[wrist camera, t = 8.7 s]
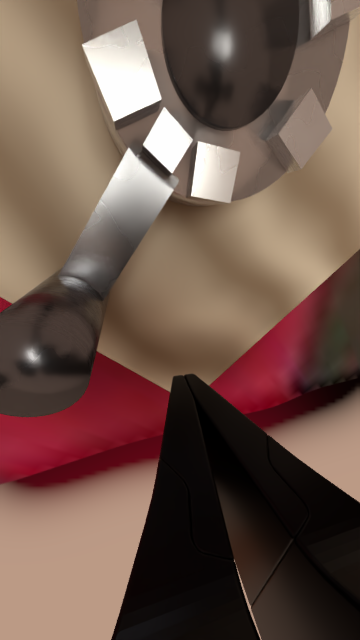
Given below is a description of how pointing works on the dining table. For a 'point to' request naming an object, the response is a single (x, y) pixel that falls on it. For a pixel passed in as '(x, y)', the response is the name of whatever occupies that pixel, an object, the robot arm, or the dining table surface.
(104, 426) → the dining table surface
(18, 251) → the birch board
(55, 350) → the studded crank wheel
